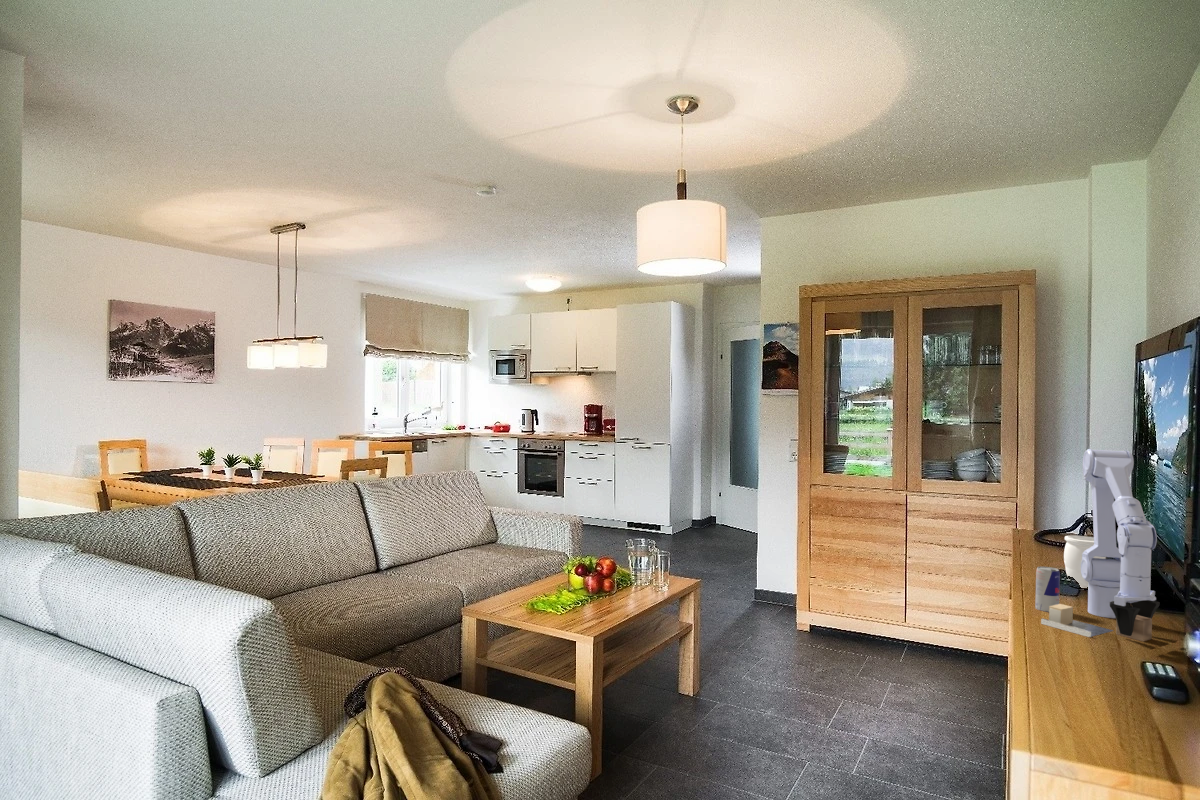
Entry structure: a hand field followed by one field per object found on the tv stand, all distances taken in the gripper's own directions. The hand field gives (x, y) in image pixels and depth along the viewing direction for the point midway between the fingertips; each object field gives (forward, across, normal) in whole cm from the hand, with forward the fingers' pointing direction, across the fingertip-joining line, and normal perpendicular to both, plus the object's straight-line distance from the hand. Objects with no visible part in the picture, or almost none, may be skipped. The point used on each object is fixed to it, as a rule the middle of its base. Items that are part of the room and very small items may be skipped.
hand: (1134, 632), depth 169 cm
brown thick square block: (+2, 0, 0) cm, 2 cm away
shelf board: (+2, -5, +10) cm, 11 cm away
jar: (+2, +44, +33) cm, 55 cm away
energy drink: (+2, +4, +22) cm, 22 cm away
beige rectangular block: (+1, -5, +14) cm, 15 cm away
